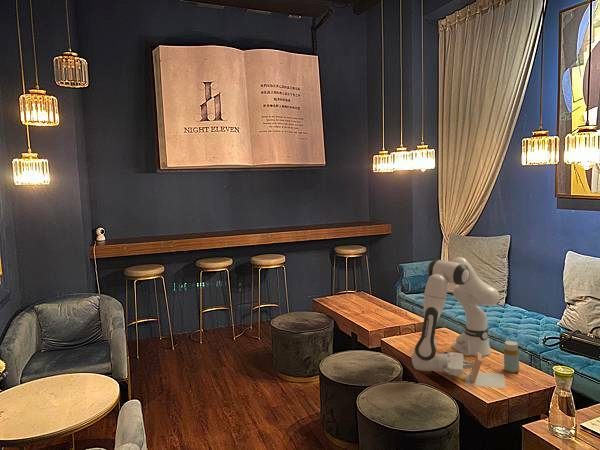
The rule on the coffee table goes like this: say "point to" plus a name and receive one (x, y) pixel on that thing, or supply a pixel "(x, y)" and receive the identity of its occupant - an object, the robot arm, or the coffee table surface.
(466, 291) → the robot arm
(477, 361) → the tile
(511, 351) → the bottle
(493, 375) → the mat
